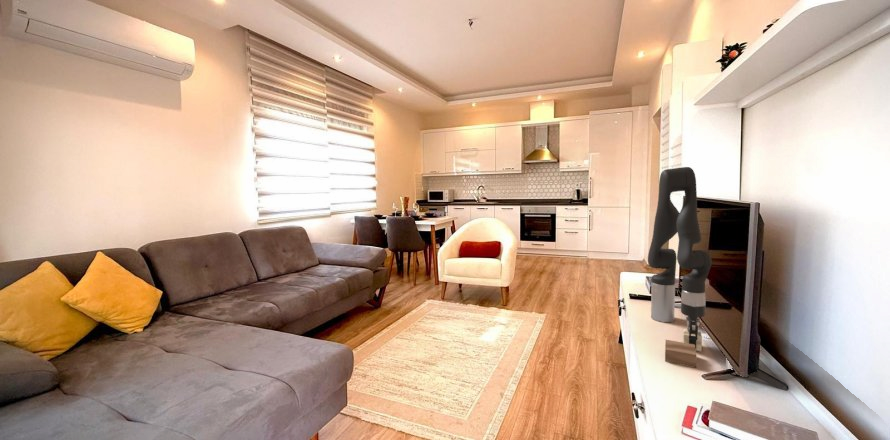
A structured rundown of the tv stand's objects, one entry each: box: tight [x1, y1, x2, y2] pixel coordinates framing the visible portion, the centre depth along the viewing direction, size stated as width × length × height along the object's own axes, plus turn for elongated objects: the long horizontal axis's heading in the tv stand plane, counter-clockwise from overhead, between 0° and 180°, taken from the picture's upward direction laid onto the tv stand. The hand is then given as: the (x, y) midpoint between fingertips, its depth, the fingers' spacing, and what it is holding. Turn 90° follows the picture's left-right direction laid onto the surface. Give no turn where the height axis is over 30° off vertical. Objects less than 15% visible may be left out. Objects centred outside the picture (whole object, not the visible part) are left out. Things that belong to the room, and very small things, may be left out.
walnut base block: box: [664, 339, 697, 368], centre depth 124 cm, size 9×9×4 cm
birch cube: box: [682, 328, 703, 352], centre depth 132 cm, size 6×6×6 cm
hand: (692, 344), depth 132 cm, fingers closed on birch cube, 5 cm apart
